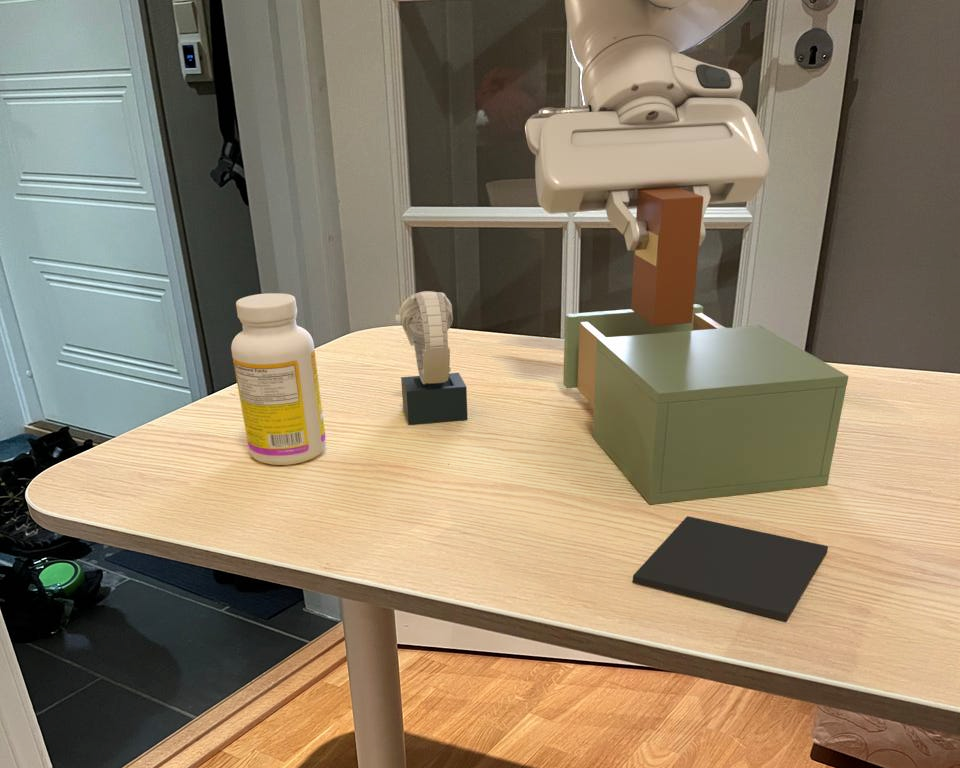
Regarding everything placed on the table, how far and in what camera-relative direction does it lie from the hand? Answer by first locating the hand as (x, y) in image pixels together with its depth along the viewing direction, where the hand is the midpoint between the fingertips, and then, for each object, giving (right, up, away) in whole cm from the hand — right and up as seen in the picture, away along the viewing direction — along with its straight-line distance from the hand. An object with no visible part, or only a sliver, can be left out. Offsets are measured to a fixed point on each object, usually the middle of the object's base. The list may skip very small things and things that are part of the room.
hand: (667, 244), depth 79 cm
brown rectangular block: (0, -5, +3) cm, 6 cm away
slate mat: (+1, -29, -17) cm, 34 cm away
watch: (-20, -12, +9) cm, 25 cm away
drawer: (0, -10, +10) cm, 14 cm away
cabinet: (+3, -19, -2) cm, 19 cm away
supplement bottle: (-33, -18, +2) cm, 37 cm away
